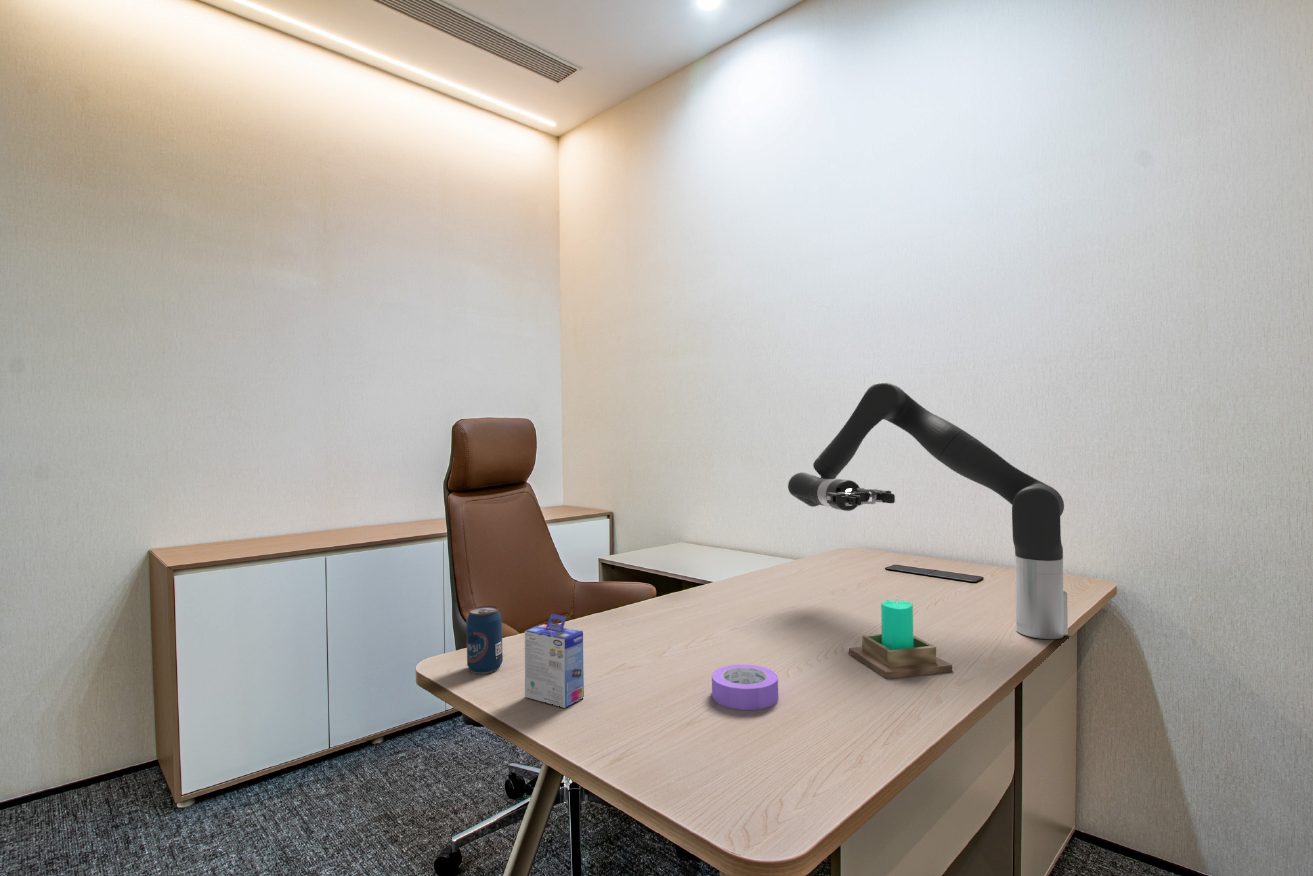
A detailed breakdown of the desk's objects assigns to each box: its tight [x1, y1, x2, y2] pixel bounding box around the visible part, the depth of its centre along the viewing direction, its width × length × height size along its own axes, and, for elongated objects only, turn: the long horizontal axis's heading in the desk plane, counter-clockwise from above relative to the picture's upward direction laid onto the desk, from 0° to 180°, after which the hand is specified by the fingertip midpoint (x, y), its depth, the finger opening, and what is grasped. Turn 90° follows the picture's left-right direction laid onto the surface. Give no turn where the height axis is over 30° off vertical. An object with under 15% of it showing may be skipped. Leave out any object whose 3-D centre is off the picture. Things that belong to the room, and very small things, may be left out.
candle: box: [880, 595, 914, 650], centre depth 127 cm, size 6×6×12 cm
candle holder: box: [848, 633, 953, 680], centre depth 127 cm, size 14×14×4 cm
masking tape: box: [711, 663, 779, 711], centre depth 113 cm, size 12×12×4 cm
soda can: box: [465, 605, 504, 675], centre depth 128 cm, size 7×7×12 cm
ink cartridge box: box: [524, 613, 585, 709], centre depth 114 cm, size 10×6×14 cm, turn 58°
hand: (876, 499), depth 143 cm, fingers open, 8 cm apart
